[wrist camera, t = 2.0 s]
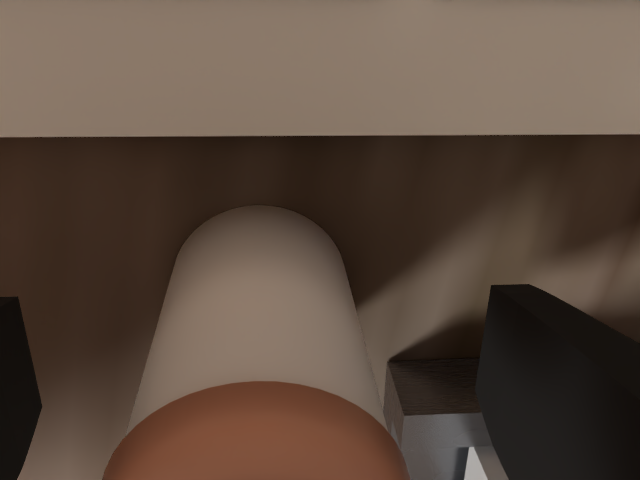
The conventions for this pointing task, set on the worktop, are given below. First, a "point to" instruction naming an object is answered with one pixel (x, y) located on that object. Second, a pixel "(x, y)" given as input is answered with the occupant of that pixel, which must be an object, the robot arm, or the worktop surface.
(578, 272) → the worktop surface
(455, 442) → the slider track
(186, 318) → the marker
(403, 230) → the worktop surface
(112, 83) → the picture sheet
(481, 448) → the slider
